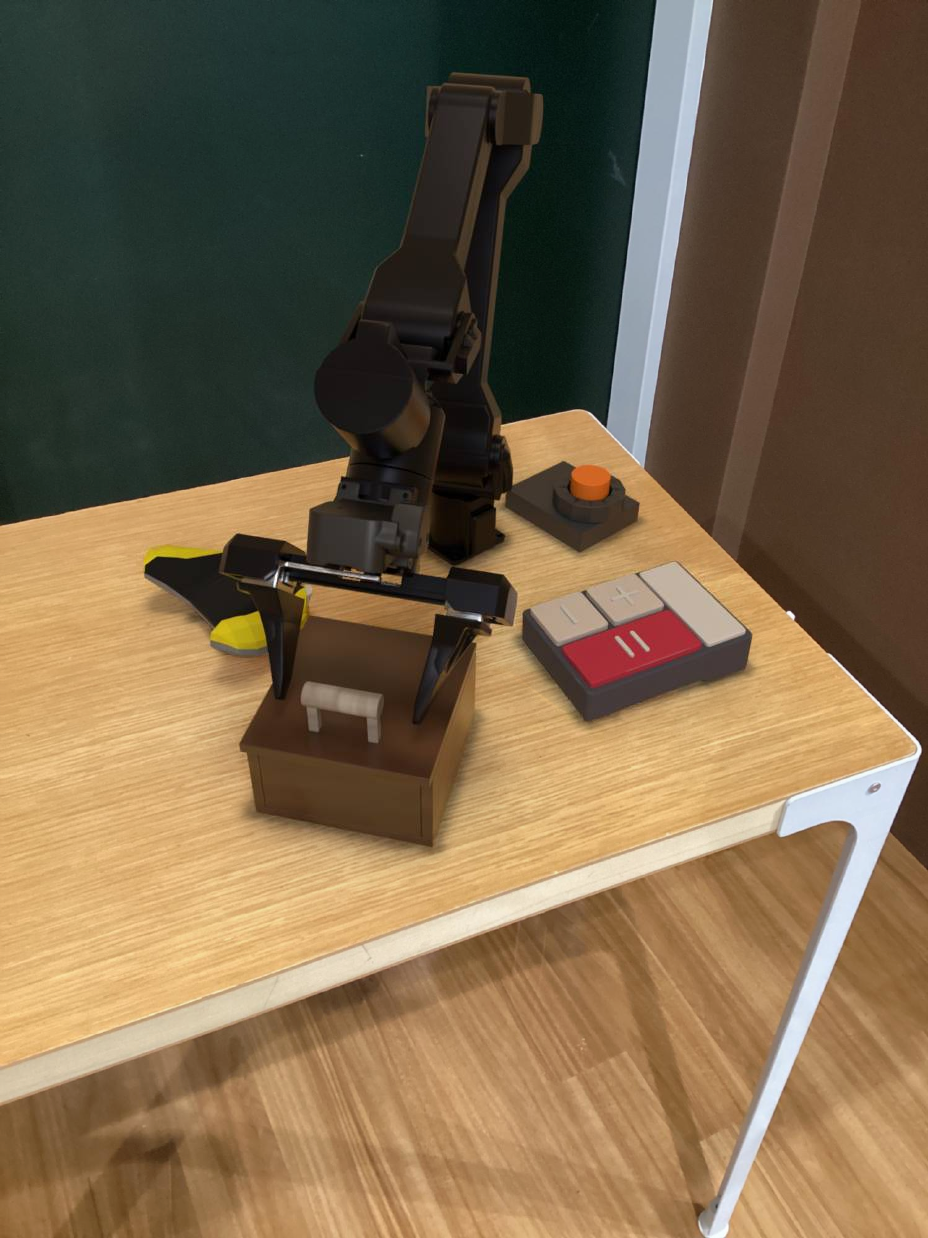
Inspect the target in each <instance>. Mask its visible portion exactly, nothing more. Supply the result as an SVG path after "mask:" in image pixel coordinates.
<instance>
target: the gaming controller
mask: <svg viewBox="0 0 928 1238" xmlns="http://www.w3.org/2000/svg"><path fill="white" fill-rule="evenodd" d="M222 553H223V549H208V548H207V549H206V548H198V547H191V546H182V545H181V546H180V545H172V544H163V545H158V546H155V547H150V548H148V550H147V552H146V553H145V554H144V556H143V558H142V559H143V560H142V561H143V568H142V571H143V576H144V579H146V580H147V581H149V582H151V583H152V584H154V585H156V587H159V588H161V589H162V590H164V591H165V592H168V593H169V594H170V595H172V596H174V597H175V598H177V599H179V600H180V601H182V602H183V603H184V604H186V605H188V606H189V607H190V608H191V609H192V610H194V611H195V612H196V614H197V615H199V617H200V618H202V620H204V622H205V623H206V624H208V625H209V627H211V629H212V630H211V632H210V637H209V643H210V647H211V648H212V649H214V650H216V651H218V652H221V653H223V654H226V655H228V656H230V657H237V658H248V659H251V658H257V657H261V656H264V655H266V654H268V649H267V643H266V637H265V632H264V628H263V625H262V621H261V617H260V614H259V612H258V609H257V607H256V605H255V603H254V601H253V599H252V597H251V595H249V594H247V593H244V592H241V591H239V590H238V588H237V582H241V581H239V580H236V579H234V578H231V577H229V576H226V575H224V574H221V573H219V568H220V563H221V558H222ZM293 595H295V596H298V597H300V598H303V599H305V602H304V608H303V614H302V620H301V626H300V631H299V633H300V632H301V630H302V628H303V626H304V624H305V622H306V621H307V619H308V617H309V615H311V610H310V606H309V603H310V601H311V598H312V595H313V585H311V584H304V585H303V584H301V585H300V586H298V587H297V588H296V589H294V591H293Z"/></svg>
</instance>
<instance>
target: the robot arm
mask: <svg viewBox="0 0 928 1238" xmlns="http://www.w3.org/2000/svg"><path fill="white" fill-rule="evenodd" d="M543 96H544V95H543V94H542V93H532V91H531V82H530V78H529V77H523V76H512V75H511V76H509V75H496V74H495V75H494V74H482V73H470V72H469V73H467V72H455V71H454V72H451V73H450V75H449V77H448V80H447V82H444V83H442V84H441V86H440V85H439V86H438V85H435V86H434V85H427V86H426V104H425V106H426V107H425V125H424V126H425V127H424V137H425V138H426V142H425V147H424V151H423V155H422V158H421V163H420V167H419V171H418V174H417V179H416V183H415V186H414V190H413V195H412V199H411V203H410V206H409V210H408V214H407V219H406V223H405V227H404V231H403V235H402V238H401V241H400V245H399V247H398V249H397V250H395V251H394V252H393V253H392V254H390V255H389V256H388V257H387V258H385V259H384V260H383V261H382V262H381V263H380V264H378V265H377V266H376V267H375V269H374V271H373V274H372V277H371V279H370V283H369V285H368V288H367V292H366V295H365V298H364V300H363V301H359V303H358V304H357V306H356V308H355V310H354V312H353V313H352V316H351V318H350V319H349V322H348V323H347V326H346V327H345V329H344V331H343V333H342V335H341V337H340V339H339V341H338V343H337V344H336V346H335V347H334V349H331V351H330V352H329V353H328V354H327V356H326V357H324V359H323V361H322V363H321V364H320V367H319V368H318V369H317V370H316V372H315V375H314V380H313V382H314V383H313V393H314V398H315V399H314V400H315V403H316V405H317V407H318V410H319V411H320V413H321V415H322V416H323V417H324V419H326V420H327V422H328V423H329V424H330V425H331V426H332V427H333V428H334V429H335V431H337V433H338V434H340V436H342V438H343V439H344V440H345V442H346V443H347V444H348V445H349V446H350V453H349V457H348V463H347V468H346V472H345V476H342V475H341V476H340V481H339V483H338V484H337V489H336V494H335V497H334V499H333V500H328V501H325V502H322V503H320V504H318V505H316V506H313V507H311V508H309V512H308V525H307V539H306V550H305V551H304V550H303V549H301V548H299V547H298V546H296V545H294V544H292V543H290V542H289V541H287V540H283V539H277V538H271V537H263V536H256V535H250V534H244V533H238V532H237V533H235V534H234V535H233V536H232V537H231V538H230V539H229V540H228V541H227V542H226V544H225V545H224V547H223V548H222V550H223V553H222V558H221V563H220V568H219V573H221V574H224V575H226V576H229V577H231V578H234V579H236V580H239V581H241V582H237V588H238V590H239V591H241V592H244V593H247V594H249V595H251V597H252V599H253V601H254V603H255V605H256V607H257V609H258V612H259V614H260V617H261V621H262V625H263V628H264V632H265V637H266V643H267V649H268V653H267V655H268V662H269V668H270V675H271V684H272V683H273V690H274V697H275V699H277V700H285V698H286V695H287V692H288V688H289V685H290V682H291V678H292V673H293V667H294V661H295V655H296V649H297V643H298V637H299V631H300V626H301V620H302V614H303V608H304V602H305V599H303V598H300V597H298V596H295V595H293V591H294V589H296V588H297V587H298V586H300V585H301V586H302V585H303V584H304V585H311V586H319V587H324V588H329V589H337V590H341V591H347V592H348V591H350V592H355V593H363V594H368V595H374V596H381V597H387V598H393V599H397V600H406V601H412V602H417V603H424V604H431V605H436V606H443V608H444V610H445V611H446V613H445V614H442V613H441V614H440V613H434V621H433V629H432V642H431V646H430V649H429V653H428V657H427V660H426V664H425V667H424V671H423V674H422V678H421V681H420V685H419V689H418V692H417V696H416V700H415V705H414V712H413V719H412V723H413V724H416V725H420V724H421V723H422V721H423V719H424V718H425V716H426V714H427V712H428V711H429V709H430V707H431V705H432V704H433V702H434V700H435V698H436V696H437V695H438V693H439V691H440V689H441V688H442V686H443V684H444V682H445V681H446V679H447V677H448V675H449V674H450V672H451V670H452V669H453V667H454V666H455V664H456V663H457V662H458V660H459V659H460V658H461V656H462V655H463V654H464V652H465V651H466V650H467V648H468V647H469V646H470V644H471V643H472V642H474V640H475V639H476V638H477V637H478V636H481V637H488V638H489V637H492V633H493V629H492V627H491V625H496V626H503V627H510V628H511V627H514V621H515V616H516V611H517V604H518V592H517V590H516V588H514V586H513V585H512V583H511V582H510V581H509V579H508V578H507V577H506V576H505V574H502V573H496V572H491V571H483V570H478V569H472V568H465V567H459V566H458V565H461V564H463V563H465V562H467V561H468V560H470V559H472V558H474V557H476V556H478V555H481V554H482V553H484V552H486V551H487V550H490V549H492V548H494V547H496V546H497V545H499V544H502V543H503V542H505V541H506V534H505V533H504V532H502V531H500V530H498V529H497V528H496V526H497V525H496V521H497V507H496V506H495V501H500V500H501V498H502V495H503V494H506V492H508V491H511V490H512V486H513V485H514V484H513V483H514V467H513V460H512V451H511V449H510V446H509V444H508V443H509V442H508V441H507V438H506V435H502V434H501V431H502V418H503V415H502V412H501V410H500V407H499V405H498V403H497V401H496V398H495V396H494V394H493V392H492V390H491V388H490V385H489V383H488V376H489V367H490V366H489V365H490V358H491V347H492V340H493V339H492V338H493V328H494V319H495V310H496V301H497V291H498V281H499V272H500V262H501V252H502V245H503V244H502V243H503V233H504V226H505V225H504V224H505V214H506V206H507V200H508V198H509V197H510V195H511V194H512V193H513V192H514V190H515V189H516V187H517V186H518V184H519V183H520V182H521V181H522V179H523V178H524V176H525V175H526V173H527V172H528V171H529V169H530V164H531V157H532V149H533V145H538V144H539V142H540V138H541V134H542V128H543V127H542V126H543V118H544V116H543V115H544V97H543ZM428 382H431V383H430V384H429V386H428V387H427V383H428ZM428 550H429V551H431V552H432V553H434V554H435V555H437V556H438V557H439V558H441V559H443V560H444V561H445V562H447V563H448V564H450V565H452V566H451V567H450V568H449V571H448V573H447V576H446V577H441V576H435V575H430V574H422V573H420V569H421V564H420V561H421V557H422V556H423V555H424V554H426V553H427V551H428ZM352 570H355V571H356V572H353V571H352ZM383 575H387V576H393V577H400V578H401V581H400V583H398V582H392V581H390V582H388V581H384V578H383V577H382V576H383Z"/></svg>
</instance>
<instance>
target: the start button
mask: <svg viewBox="0 0 928 1238" xmlns="http://www.w3.org/2000/svg"><path fill="white" fill-rule="evenodd" d="M610 475H611V474H610V471H608V470H607V469H606V468H605V467H602V466H599V465H594V464H583V465H579V466H576V468H575V469H574V470H573V471H572V474H571V485H570V491H571V493H572V495H574V496H575V497H577V498H579V499H584V500H589V501H594V500H602V499H604V498H606V497H607V496H608V494H609V487H610V479H611V476H610Z"/></svg>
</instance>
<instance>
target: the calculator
mask: <svg viewBox="0 0 928 1238" xmlns="http://www.w3.org/2000/svg"><path fill="white" fill-rule="evenodd" d="M521 621H522V627H521V628H522V629H521V630H522V631H521V632H522V633H521V635H522V637H521V638H522V640H523V642H524V643H525V645H526V646H527V647H528V649H529V650H530V651H531V652H532V653H533V655H534V656H535V657H536V659H537V661H539V663H540V664H541V665H542V667H543V668H544V669H545V671H546V672H547V673H548V674H549V675H550V677H551V678H552V679H553V681H554V682H555V683H556V684H557V686H558V687H559V688H560V690H561V691H562V692H563V694H564V695H565V696H566V697H567V699H568V700H569V701H570V703H571V705H573V707H574V708H575V709H576V710H577V712H578V713H579V714H580V716H581V717H582V718H583V719H584V720H585V721H588V722H592V721H594V720H597V719H601V718H603V717H605V716H608V715H611V714H614V713H616V712H619V711H622V710H624V709H627V708H629V707H632V706H635V705H638V704H640V703H644V702H646V701H648V700H651V699H654V698H657V697H659V696H662V695H664V694H668V693H670V692H673V691H675V690H678V689H681V688H683V687H686V686H688V685H691V684H694V683H698V682H700V681H705V682H713V681H716V680H719V679H721V678H723V677H726V676H728V675H731V674H735V673H737V672H740V671H742V670H744V669H745V670H746V668H747V666H748V661H749V657H750V656H749V655H750V651H751V647H752V646H751V645H752V640H753V633H752V632H751V631H750V629H748V628H747V627H746V625H744V623H742V622H741V621H740V619H738V618H737V617H736V616H735V615H734V614H733V613H732V612H731V611H730V610H729V609H728V608H727V607H726V606H725V605H724V604H722V603H721V601H720V600H719V599H717V598H716V597H715V596H714V595H713V594H712V593H711V592H710V591H709V590H708V589H707V588H706V587H705V586H704V585H703V584H702V583H701V582H700V581H699V580H698V579H697V578H696V577H695V576H694V575H693V574H691V573H690V572H689V571H688V570H687V569H686V568H685V567H684V566H683V564H681V563H680V562H679V561H676V560H674V561H669V562H666V563H662V564H660V565H656V566H654V567H652V568H651V567H650V568H647V569H644V570H642V571H639V572H635V573H630V574H629V573H628V574H627V575H626V574H625V575H623V576H620V577H617V578H613V579H611V580H608V581H605V582H602V583H599V584H596V585H593V586H590V587H588V588H586V589H584V590H582V591H575V592H571V593H569V594H566V595H562V596H560V597H559V596H558V597H555V598H554V599H550V600H547V601H543V602H542V603H541V602H540V603H538V604H534V605H533V606H531V607H529V608H527V609H525V610H523V611H522V620H521Z"/></svg>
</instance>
